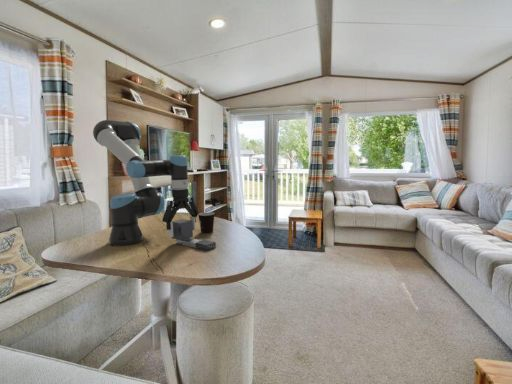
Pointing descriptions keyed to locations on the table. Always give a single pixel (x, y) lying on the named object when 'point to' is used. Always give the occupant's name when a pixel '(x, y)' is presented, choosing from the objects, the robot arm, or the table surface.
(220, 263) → the table surface
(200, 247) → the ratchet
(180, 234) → the dark grey cube
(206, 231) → the coffee mug
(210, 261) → the table surface
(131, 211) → the robot arm
